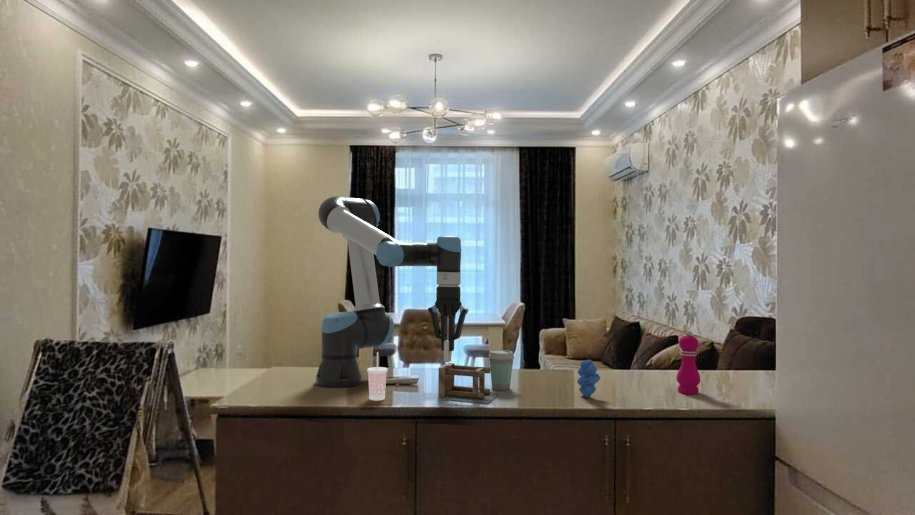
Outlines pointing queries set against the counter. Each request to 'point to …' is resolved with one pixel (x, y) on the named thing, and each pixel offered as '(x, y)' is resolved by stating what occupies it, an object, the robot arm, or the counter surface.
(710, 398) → the counter surface
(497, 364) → the coffee cup
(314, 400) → the counter surface
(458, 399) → the mat
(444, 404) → the counter surface
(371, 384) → the beverage cup
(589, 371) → the grapes
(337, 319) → the robot arm
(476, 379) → the stool
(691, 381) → the pepper mill
